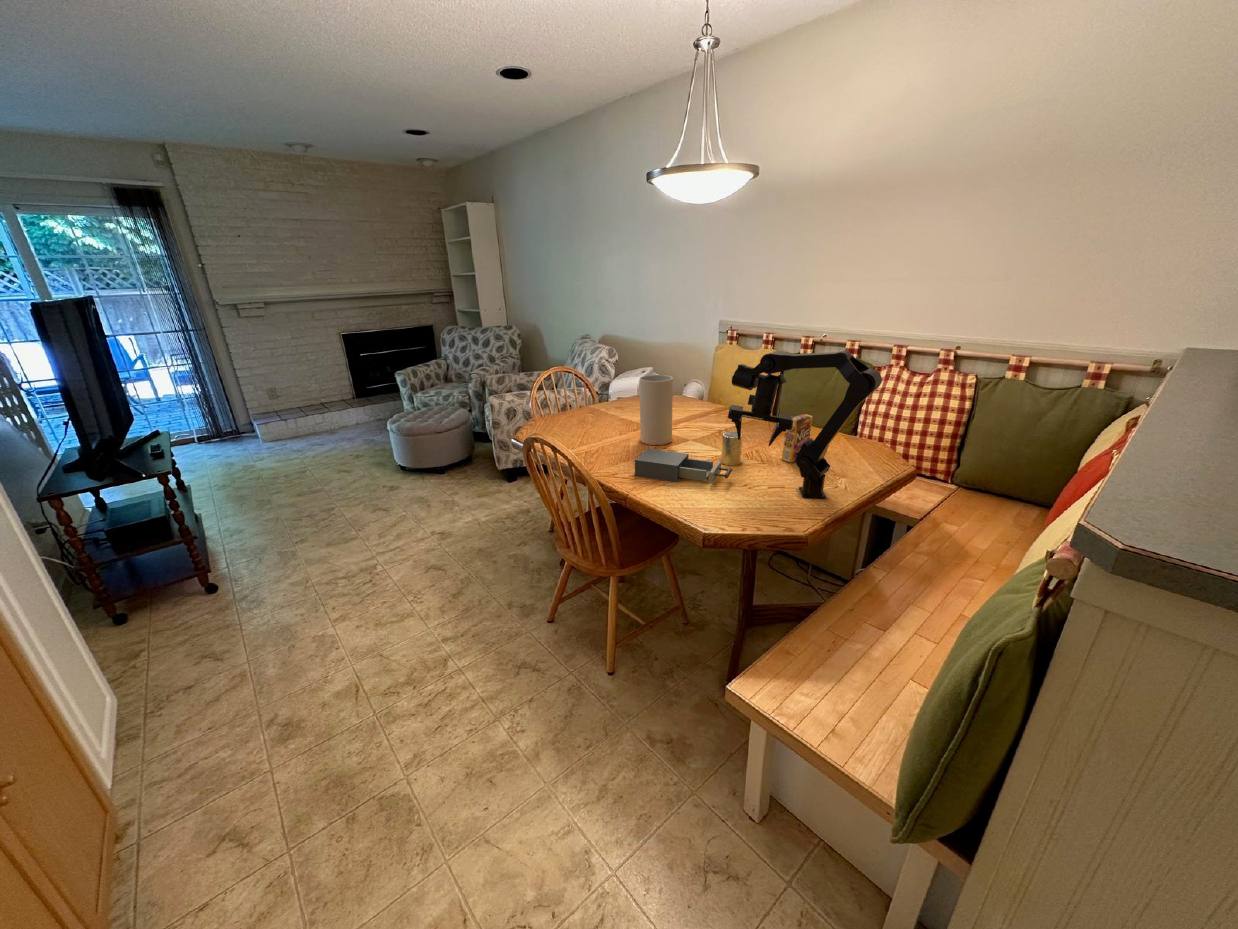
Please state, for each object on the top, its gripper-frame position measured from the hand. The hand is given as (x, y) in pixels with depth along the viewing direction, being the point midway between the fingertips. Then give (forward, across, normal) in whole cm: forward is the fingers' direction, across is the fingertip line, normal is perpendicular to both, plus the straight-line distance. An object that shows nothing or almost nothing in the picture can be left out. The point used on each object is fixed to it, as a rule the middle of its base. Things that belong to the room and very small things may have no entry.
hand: (753, 442), depth 147 cm
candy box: (+12, -16, -20) cm, 28 cm away
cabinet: (+16, +27, +2) cm, 31 cm away
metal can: (+14, +5, -13) cm, 20 cm away
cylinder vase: (+19, +35, -30) cm, 50 cm away
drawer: (+13, +13, +4) cm, 19 cm away
